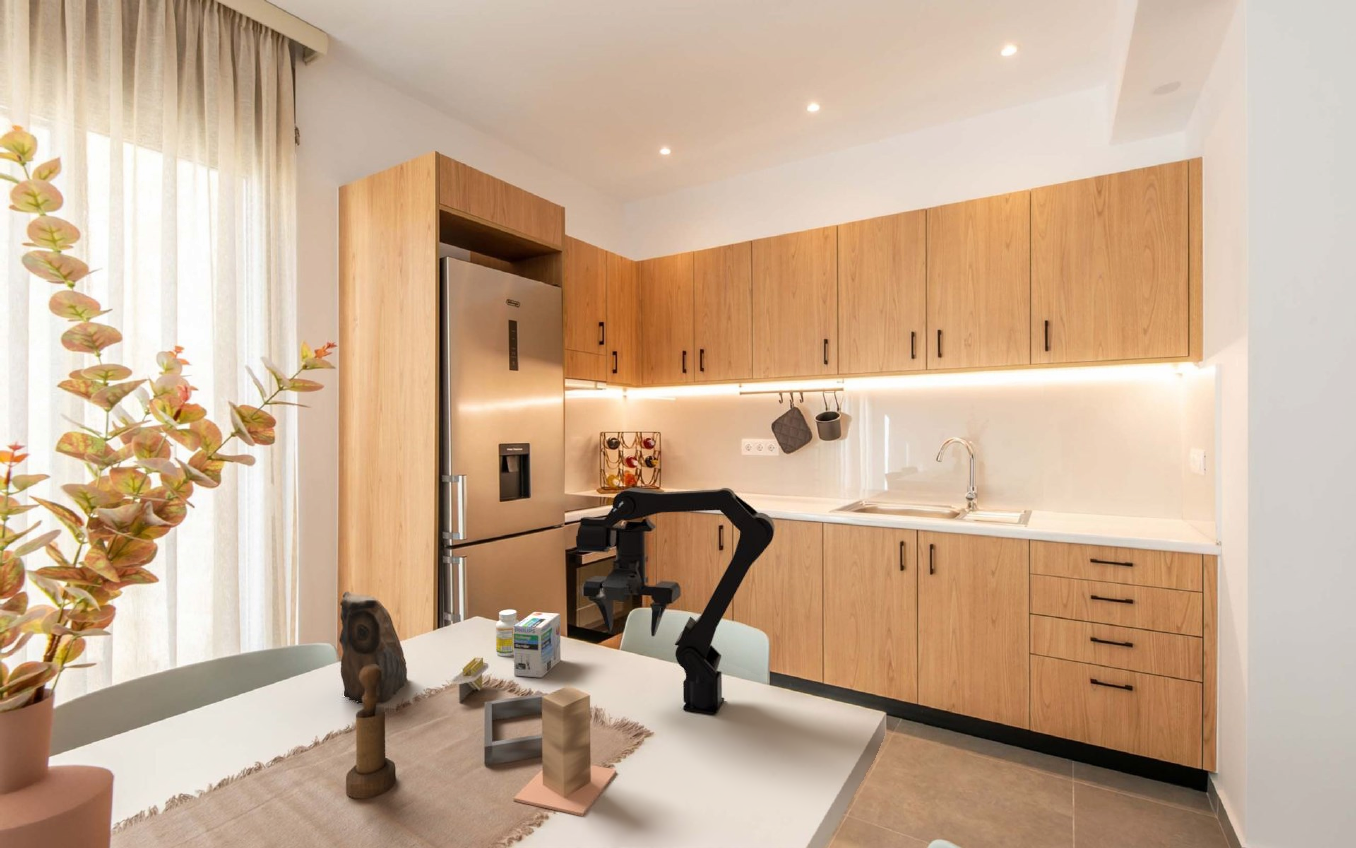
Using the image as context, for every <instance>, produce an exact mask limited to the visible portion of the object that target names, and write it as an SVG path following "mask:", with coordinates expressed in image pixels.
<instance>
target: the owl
mask: <svg viewBox="0 0 1356 848" xmlns="http://www.w3.org/2000/svg"><path fill="white" fill-rule="evenodd" d="M339 604H340V606H341V611H340V620H341V627H342V628H341V631H340V635H339V638H338V639H339V641H338V642H339V643H340V644H341V649H342V656H341V661H340V676H341V679H342V683H343V688H344V689H343V692H344V696H345V697H349V698H348V701H350V700H355V701H354V702H355V704H356V703H357V705H359V703H362V704H363V702H362V696H363V695H364V694H365V688H364V686H363V685H362V683H361V682H360V680H359V674H360V671H361V669H362V668H363V667H365V666H367V665H370V664H376V665H378V666H379V667H380V668H381V671H382V675H381V678H380V680H379V682H378V684H377V686H376V693H378V694H379V698H378V702H377V704H381V705H382V704H384V703H387V702H389V701H391V698H393V696H394V695H396V694H397V692H398V691H399V690H400V688H403V687H404V685H405V684H404V683H406V682H407V681H408V667H407V661H406V659H405V654H404V650H403V647H402V644H401V642H400V638H399V636H398V634H397V632H396V629H395V627H394V622H393V619H392V617H391V615H390V612H389V611H388V609H386V608H385V607H384V605H383V604H382V603H381V602H380V601H379V600H378V599H377V598H375V597H372V596H369V595H363V594H355V593H350V591H347V590H346V591H345V592H344V593H343V595H342V599H341V601H340V603H339ZM345 697H344V698H345ZM356 701H358V702H356Z"/></svg>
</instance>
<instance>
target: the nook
mask: <svg viewBox="0 0 1356 848" xmlns="http://www.w3.org/2000/svg"><path fill="white" fill-rule="evenodd" d="M547 694H548V693H540V694H532V695H525V696H517V697H511V698H510V697H509V698H502V699H498V700H497V699H496V700H491V701H484V732H483V733H484V734H483V735H484V736H483V737H484V738H483V739H484V744H483V745H484V748H483V749H484V751H483V752H484V755H483V756H484V757H483V758H484V762H483V763H484V767H487V766H491V765H497V764H503V763H510V762H515V761H521V760H527V759H528V760H529V759H533V758H534V759H535V758H537V757H538V758H540V757H542V733H539V734H533V735H526V736H520V737H515V738H508V739H502V740H495V741H493V721H496V719H497V720H502V719H503V718H504V719H510V717H511V718H516V717H521V716H531V715H537V714H542V696H545V695H547Z"/></svg>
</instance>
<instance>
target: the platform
mask: <svg viewBox="0 0 1356 848" xmlns="http://www.w3.org/2000/svg"><path fill="white" fill-rule="evenodd" d="M478 659H479V660H478ZM489 667H490V666H489V663H487V662H484V657H474V658H472V659H471V660H470V661H469V662H467V664H466V665H465V666H463V667H462V671H461V672H460V673H458V675H456V677H454V679H452V685H458V695H459V696H458V699H459V702H458V703H459V704H460V702H461V701H462V700H463V699H464V698H465V697H466V695H468V693H470V692H471V691H472V690H473V689H474V690H473V691H476V690H478V691H481V690H482V689H483V673H484V672H486V671H487V669H489ZM473 691H472V692H473ZM472 692H471V693H472ZM471 693H470V694H471ZM468 696H469V695H468ZM466 698H467V697H466ZM466 698H465V699H466ZM465 699H464V700H465ZM464 700H463V701H464ZM463 701H462V702H463ZM462 702H461V703H462Z"/></svg>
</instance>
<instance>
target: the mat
mask: <svg viewBox="0 0 1356 848" xmlns="http://www.w3.org/2000/svg"><path fill="white" fill-rule="evenodd" d="M616 774H617V769H613V768H608V767H603V766H597V765H592V764H591V782H590V783H589V784H587V785H585V786H583V787H582V788H580V789H578V790H577V791H575V792H573V793H571V794H570V795H568V796H566V797H565V798H563V797H562V796H560V795H558V794H557V793H555V792H554V791H552V790H551V789H549V788H547V787H546V786H544V785H543V768H542V769H541V770H540V771H539V772H538V773H537V774H536V775H535V776H534V777H533V778H532V779H531V780H530V781H529V782H528V783H527V784H526V785H525V786H524V787H523V788H522V789H521V790H520V791H519V792H518V793H517V794H516V795H515V796H514V797H513V801H514V802H518V803H523V804H526V805H531V806H535V807H539V808H540V807H541V808H545V809H548V810H549V809H550V810H554V811H557V812H560V813H561V812H562V813H567V814H571V815H575V816H581V817H583V816H584V815H585V814H586V812H588V810H589V809H590V807H591V806H592V805H593V803H594V802H595V801H596V800H597V799H598V797H599V795H600V794H601V793H602V792H603V790H604V789H605V788H606V787H607V786H608V784H609V783H610V782H611V781H612V779H613V778H614V777H615V775H616Z"/></svg>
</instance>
